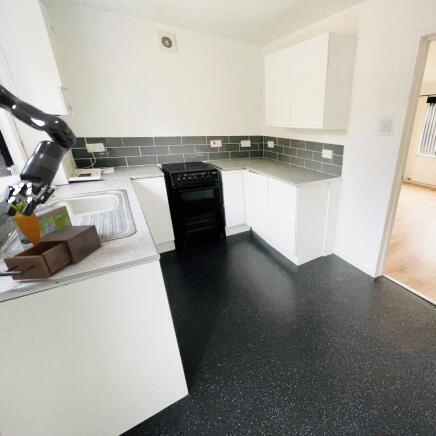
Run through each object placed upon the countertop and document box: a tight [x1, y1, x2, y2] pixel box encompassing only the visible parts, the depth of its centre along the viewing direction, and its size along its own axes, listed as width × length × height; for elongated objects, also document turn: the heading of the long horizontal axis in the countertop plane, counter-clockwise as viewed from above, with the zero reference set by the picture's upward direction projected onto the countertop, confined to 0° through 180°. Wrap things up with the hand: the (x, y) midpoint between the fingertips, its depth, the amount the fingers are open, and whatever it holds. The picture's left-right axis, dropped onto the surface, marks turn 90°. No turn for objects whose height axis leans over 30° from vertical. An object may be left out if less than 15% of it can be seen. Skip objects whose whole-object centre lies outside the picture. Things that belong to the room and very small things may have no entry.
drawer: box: [0, 242, 72, 281], centre depth 81 cm, size 18×10×8 cm, turn 4°
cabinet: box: [32, 224, 102, 265], centre depth 93 cm, size 15×12×10 cm
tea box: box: [11, 205, 73, 251], centre depth 103 cm, size 15×10×15 cm
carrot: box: [8, 199, 40, 245], centre depth 78 cm, size 5×5×15 cm
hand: (17, 215), depth 75 cm, fingers closed on carrot, 4 cm apart
